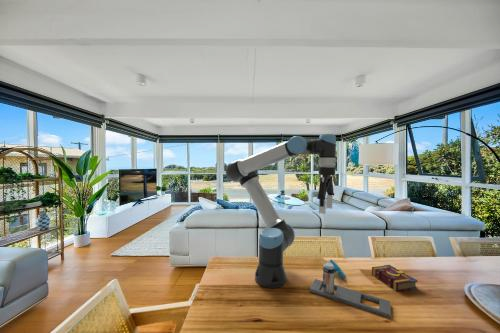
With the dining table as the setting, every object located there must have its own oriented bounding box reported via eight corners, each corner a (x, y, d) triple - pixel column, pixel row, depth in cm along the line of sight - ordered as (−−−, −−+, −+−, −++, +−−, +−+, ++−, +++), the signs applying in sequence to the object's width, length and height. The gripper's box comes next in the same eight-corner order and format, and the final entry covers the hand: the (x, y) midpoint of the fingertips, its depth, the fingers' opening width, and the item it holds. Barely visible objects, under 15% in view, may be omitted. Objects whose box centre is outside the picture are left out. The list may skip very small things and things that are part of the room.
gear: (348, 279, 101) (332, 261, 104) (338, 287, 102) (323, 269, 105) (344, 271, 112) (330, 255, 115) (336, 278, 113) (322, 262, 116)
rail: (309, 291, 94) (309, 288, 94) (315, 281, 102) (315, 278, 102) (390, 318, 79) (391, 314, 79) (389, 304, 86) (390, 301, 86)
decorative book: (397, 293, 95) (397, 282, 95) (369, 274, 110) (369, 264, 110) (417, 289, 97) (417, 279, 97) (387, 271, 113) (387, 262, 113)
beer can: (320, 288, 97) (321, 262, 96) (330, 287, 97) (331, 261, 97) (325, 294, 92) (326, 267, 92) (336, 294, 92) (336, 267, 92)
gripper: (328, 167, 90) (327, 217, 91) (340, 166, 111) (339, 207, 111) (311, 166, 94) (310, 214, 95) (325, 166, 115) (324, 205, 116)
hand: (325, 210), depth 103 cm, fingers open, 13 cm apart
